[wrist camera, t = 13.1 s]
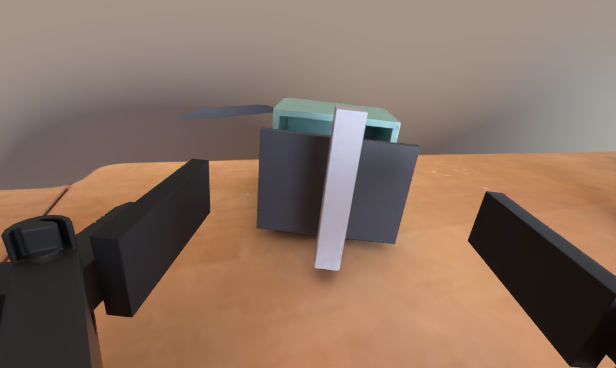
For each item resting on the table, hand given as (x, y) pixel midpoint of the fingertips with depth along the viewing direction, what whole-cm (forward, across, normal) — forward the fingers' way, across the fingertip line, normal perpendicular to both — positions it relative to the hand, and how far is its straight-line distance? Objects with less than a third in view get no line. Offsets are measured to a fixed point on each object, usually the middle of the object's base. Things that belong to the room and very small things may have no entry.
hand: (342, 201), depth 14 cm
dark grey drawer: (+8, 0, -6) cm, 11 cm away
